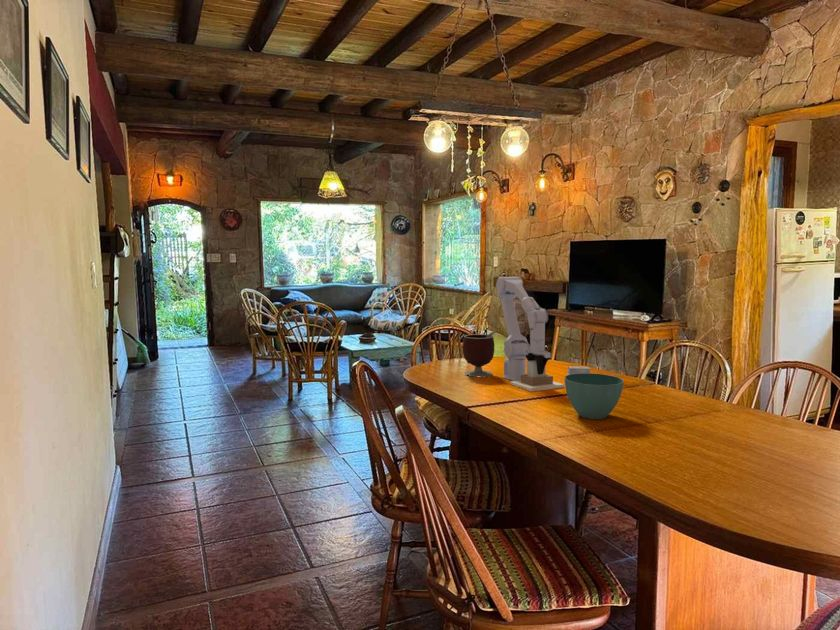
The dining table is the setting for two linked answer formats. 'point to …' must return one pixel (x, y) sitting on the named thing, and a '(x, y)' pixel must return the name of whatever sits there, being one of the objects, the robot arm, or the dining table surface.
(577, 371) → the medicine box
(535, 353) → the robot arm
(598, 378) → the teal bowl
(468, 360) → the mate gourd
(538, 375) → the block
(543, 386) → the slot stand
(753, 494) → the dining table surface
